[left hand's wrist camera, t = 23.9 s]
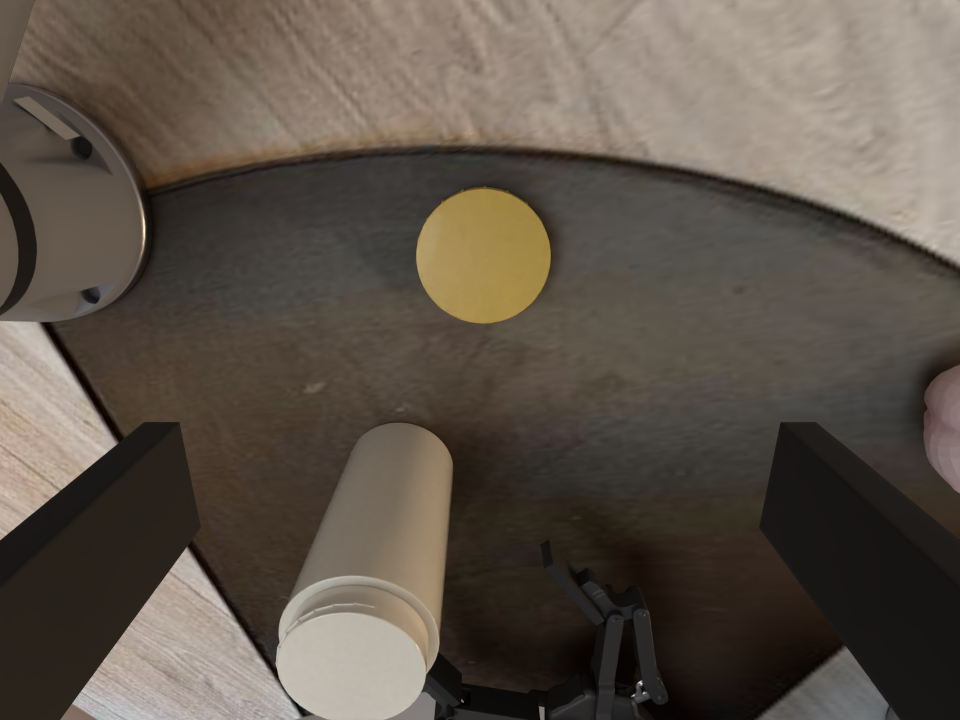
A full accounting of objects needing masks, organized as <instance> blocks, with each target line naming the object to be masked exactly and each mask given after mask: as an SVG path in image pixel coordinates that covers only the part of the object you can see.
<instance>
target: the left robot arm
mask: <svg viewBox="0 0 960 720" xmlns="http://www.w3.org/2000/svg"><path fill="white" fill-rule="evenodd" d="M33 4H34V0H0V321H27V322H54V321H62V320H68V319H73V318H78V317H82V316H85V315H88V314H91V313H93V312H96V311H98V310H100V309H103V308H105V307H107V306H109V305H111V304H113V303H115V302H116V301H118V300H119V299H120V298H122V297H123V296H124V295H125V294H126V293H127V292H129V291H130V290H131V288H132V287H133V286H134V285H135V284H136V282H137V281H138V279H139V278H140V276H141V275H142V273H143V271H144V269H145V267H146V264H147V261H148V259H149V255H150V251H151V246H152V238H153V222H152V213H151V207H150V202H149V198H148V195H147V191H146V189H145V186H144V183H143V181H142V178H141V176H140V174H139V172H138V170H137V168H136V166H135V165H134V163H133V161H132V159H131V158H130V156H129V155H128V153H127V152H126V150H125V149H124V148H123V146H122V145H121V144H120V142H119V141H118V140H117V139H116V138H115V136H114V135H113V134H112V133H111V132H110V131H109V130H108V129H107V128H106V127H105V126H104V125H103V124H102V123H100V122H99V121H98V120H97V119H96V118H95V117H93V116H92V115H91V114H90V113H88V112H87V111H86V110H84V109H82V108H81V107H79V106H78V105H76V104H75V103H73V102H71V101H69V100H67V99H66V98H64V97H61V96H59V95H57V94H55V93H52V92H49V91H46V90H43V89H40V88H36V87H32V86H28V85H21V84H13V83H8V82H9V79H10V76H11V73H12V70H13V67H14V63H15V60H16V57H17V54H18V51H19V48H20V45H21V41H22V38H23V35H24V32H25V29H26V26H27V22H28V19H29V16H30V13H31V10H32V7H33ZM200 528H201V527H200V522H199V517H198V512H197V507H196V502H195V497H194V492H193V488H192V483H191V478H190V473H189V468H188V463H187V458H186V453H185V448H184V443H183V438H182V433H181V428H180V423H179V422H144V423H143V424H141V425H140V426H139V427H138V428H137V429H135V430H134V431H133V432H132V433H130V434H129V435H128V436H127V437H126V438H124V439H123V440H122V441H121V442H120V443H118V444H117V445H116V446H115V447H113V448H112V449H111V450H110V451H109V452H107V453H106V454H105V455H104V456H102V457H101V458H100V459H99V460H98V461H96V462H95V463H94V464H93V465H91V466H90V467H89V468H88V469H87V470H85V471H84V472H83V473H82V474H81V475H79V476H78V477H77V478H76V479H74V480H73V481H72V482H71V483H70V484H68V485H67V486H66V487H65V488H63V489H62V490H61V491H60V492H59V493H57V494H56V495H55V496H54V497H52V498H51V499H50V500H49V501H48V502H46V503H45V504H44V505H43V506H42V507H40V508H39V509H38V510H37V511H35V512H34V513H33V514H32V515H31V516H29V517H28V518H27V519H26V520H24V521H23V522H22V523H21V524H20V525H18V526H17V527H16V528H15V529H13V530H12V531H11V532H10V533H9V534H7V535H6V536H5V537H4V538H3V539H1V540H0V720H60V719H61V718H62V716H63V715H64V714H65V712H66V711H67V710H68V708H69V707H70V705H71V704H72V703H73V701H74V700H75V699H76V697H77V696H78V695H79V693H80V692H81V690H82V689H83V688H84V686H85V685H86V684H87V682H88V681H89V680H90V678H91V677H92V675H93V674H94V673H95V671H96V670H97V669H98V667H99V666H100V665H101V663H102V662H103V660H104V659H105V658H106V656H107V655H108V654H109V652H110V651H111V650H112V648H113V647H114V645H115V644H116V643H117V641H118V640H119V639H120V637H121V636H122V634H123V633H124V632H125V630H126V629H127V628H128V626H129V625H130V624H131V622H132V621H133V619H134V618H135V617H136V615H137V614H138V613H139V611H140V610H141V609H142V607H143V606H144V604H145V603H146V602H147V600H148V599H149V598H150V596H151V595H152V594H153V592H154V591H155V589H156V588H157V587H158V585H159V584H160V583H161V581H162V580H163V579H164V577H165V576H166V574H167V573H168V572H169V570H170V569H171V568H172V566H173V565H174V564H175V562H176V561H177V559H178V558H179V557H180V555H181V554H182V553H183V551H184V550H185V549H186V547H187V546H188V544H189V543H190V542H191V540H192V539H193V538H194V536H195V535H196V534H197V532H198V531H199V529H200ZM759 528H760V529H761V531H762V532H763V534H764V535H765V536H766V538H767V539H768V540H769V542H770V543H771V544H772V546H773V547H774V549H775V550H776V551H777V553H778V554H779V555H780V557H781V558H782V559H783V561H784V562H785V564H786V565H787V566H788V568H789V569H790V570H791V572H792V573H793V574H794V576H795V577H796V579H797V580H798V581H799V583H800V584H801V585H802V587H803V588H804V589H805V591H806V592H807V594H808V595H809V596H810V598H811V599H812V600H813V602H814V603H815V604H816V606H817V607H818V609H819V610H820V611H821V613H822V614H823V615H824V617H825V618H826V619H827V621H828V622H829V624H830V625H831V626H832V628H833V629H834V630H835V632H836V633H837V634H838V636H839V637H840V639H841V640H842V641H843V643H844V644H845V645H846V647H847V648H848V650H849V651H850V652H851V654H852V655H853V656H854V658H855V659H856V660H857V662H858V663H859V665H860V666H861V667H862V669H863V670H864V671H865V673H866V674H867V675H868V677H869V678H870V680H871V681H872V682H873V684H874V685H875V686H876V688H877V689H878V690H879V692H880V693H881V695H882V696H883V697H884V699H885V700H886V701H887V703H888V704H889V705H890V707H891V708H892V710H893V711H894V712H895V714H896V715H897V716H898V718H899V719H900V720H960V540H959V539H957V538H956V537H955V536H954V535H953V534H951V533H950V532H949V531H948V530H947V529H945V528H944V527H943V526H942V525H940V524H939V523H938V522H937V521H936V520H934V519H933V518H932V517H931V516H929V515H928V514H927V513H926V512H925V511H923V510H922V509H921V508H920V507H918V506H917V505H916V504H915V503H914V502H912V501H911V500H910V499H909V498H908V497H906V496H905V495H904V494H903V493H901V492H900V491H899V490H898V489H897V488H895V487H894V486H893V485H892V484H890V483H889V482H888V481H887V480H886V479H884V478H883V477H882V476H881V475H879V474H878V473H877V472H876V471H875V470H873V469H872V468H871V467H870V466H869V465H867V464H866V463H865V462H864V461H862V460H861V459H860V458H859V457H858V456H856V455H855V454H854V453H853V452H851V451H850V450H849V449H848V448H847V447H845V446H844V445H843V444H842V443H840V442H839V441H838V440H837V439H836V438H834V437H833V436H832V435H831V434H830V433H828V432H827V431H826V430H825V429H823V428H822V427H821V426H820V425H819V424H817V423H816V422H781V423H780V428H779V433H778V438H777V443H776V448H775V453H774V458H773V463H772V468H771V473H770V478H769V483H768V488H767V492H766V497H765V502H764V507H763V512H762V517H761V522H760V527H759Z"/></svg>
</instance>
